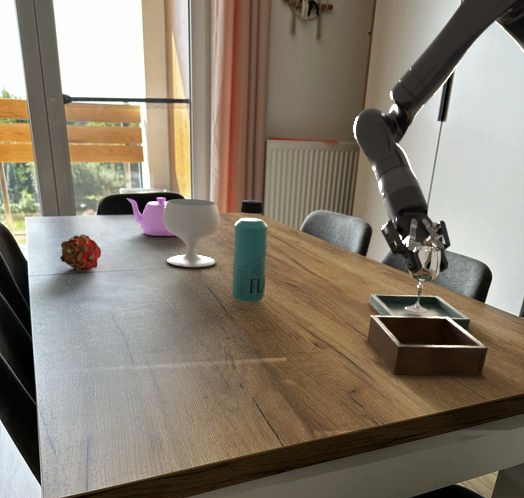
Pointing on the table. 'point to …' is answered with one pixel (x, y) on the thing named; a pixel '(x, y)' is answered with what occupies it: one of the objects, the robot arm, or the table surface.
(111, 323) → the table surface
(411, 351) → the brown wooden box
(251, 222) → the beverage bottle
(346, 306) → the table surface
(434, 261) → the wineglass
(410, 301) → the tray
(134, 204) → the teapot
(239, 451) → the table surface
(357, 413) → the table surface
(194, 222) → the chalice
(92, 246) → the dragon fruit
